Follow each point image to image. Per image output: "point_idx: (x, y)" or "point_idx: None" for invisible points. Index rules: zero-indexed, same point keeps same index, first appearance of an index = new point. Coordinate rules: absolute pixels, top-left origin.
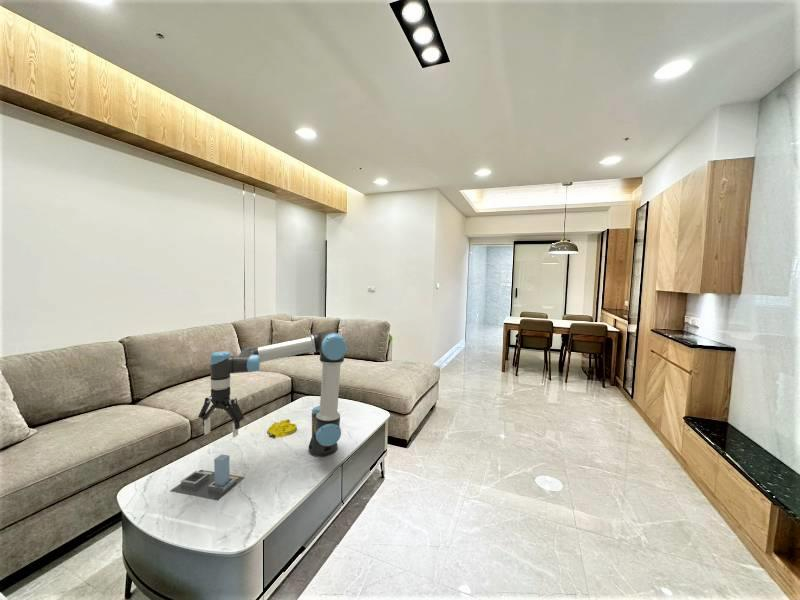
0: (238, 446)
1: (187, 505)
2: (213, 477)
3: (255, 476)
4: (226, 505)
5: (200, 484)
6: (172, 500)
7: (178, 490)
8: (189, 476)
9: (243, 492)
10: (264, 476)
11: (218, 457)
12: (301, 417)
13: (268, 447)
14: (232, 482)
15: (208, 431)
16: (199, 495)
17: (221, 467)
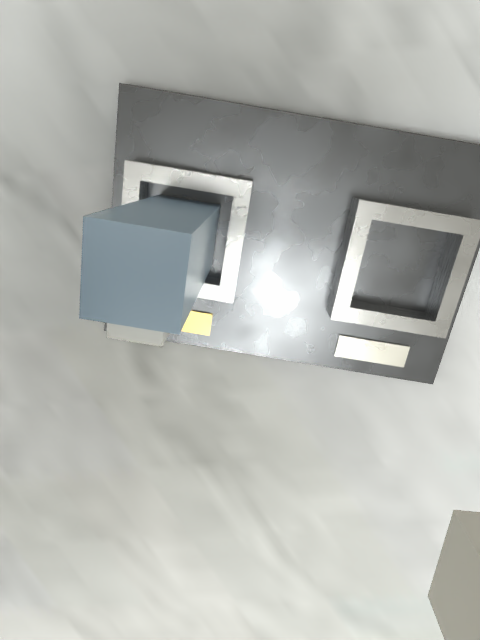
0: (343, 609)
1: (307, 38)
2: (302, 315)
3: (68, 357)
4: (54, 66)
5: (342, 238)
6: (441, 80)
7: (454, 163)
8: (451, 276)
9: (36, 204)
10: (16, 361)
11: (166, 270)
12: None
13: (167, 606)
14: None
15: (450, 588)
16: (277, 123)
17: (120, 209)
